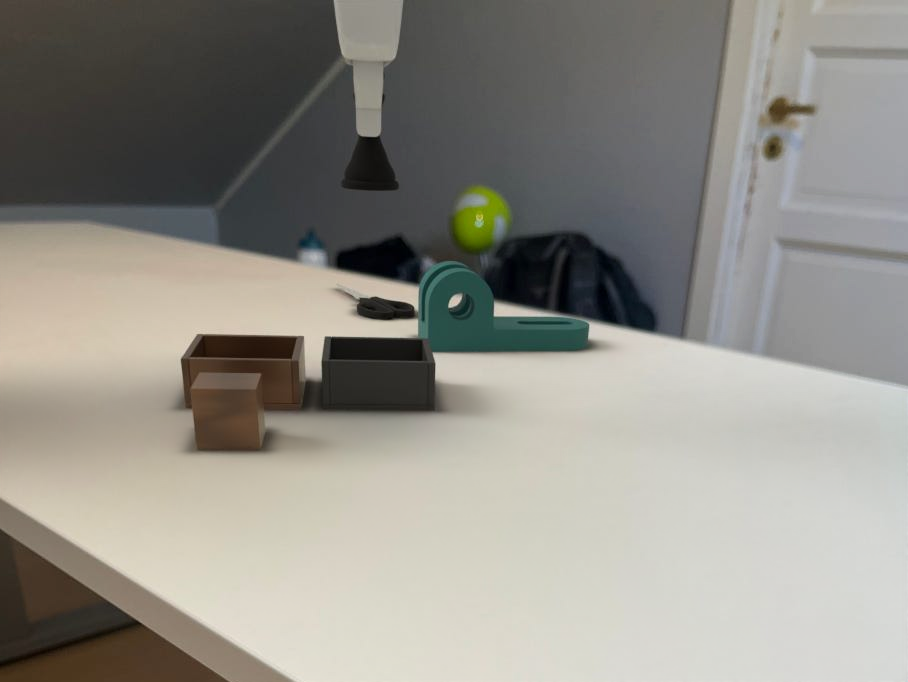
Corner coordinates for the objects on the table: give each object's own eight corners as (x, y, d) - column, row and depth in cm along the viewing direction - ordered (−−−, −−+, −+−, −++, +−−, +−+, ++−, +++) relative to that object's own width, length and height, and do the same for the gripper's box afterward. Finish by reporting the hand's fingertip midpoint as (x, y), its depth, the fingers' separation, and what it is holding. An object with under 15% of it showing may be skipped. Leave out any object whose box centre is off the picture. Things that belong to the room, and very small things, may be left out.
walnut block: (196, 451, 70) (190, 388, 68) (205, 432, 74) (199, 372, 71) (260, 451, 70) (256, 389, 68) (265, 432, 74) (261, 373, 72)
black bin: (323, 410, 80) (321, 360, 78) (326, 381, 88) (324, 336, 86) (434, 411, 81) (435, 362, 79) (427, 382, 89) (428, 338, 87)
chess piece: (350, 184, 77) (347, 35, 72) (404, 187, 76) (405, 37, 71) (333, 188, 73) (329, 31, 68) (391, 192, 72) (390, 34, 67)
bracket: (427, 352, 100) (429, 271, 96) (418, 337, 105) (418, 260, 101) (595, 351, 103) (603, 273, 99) (577, 337, 109) (583, 262, 105)
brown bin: (185, 408, 79) (180, 358, 77) (201, 379, 87) (197, 333, 85) (300, 409, 80) (298, 360, 78) (306, 381, 88) (304, 335, 86)
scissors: (309, 289, 127) (371, 320, 112) (309, 282, 126) (371, 312, 111) (357, 287, 130) (423, 317, 115) (357, 280, 129) (424, 309, 114)
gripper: (324, -75, 75) (329, 129, 81) (313, -127, 57) (321, 139, 64) (406, -69, 75) (405, 132, 82) (420, -118, 58) (417, 143, 64)
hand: (368, 135), depth 73 cm, fingers closed on chess piece, 2 cm apart
